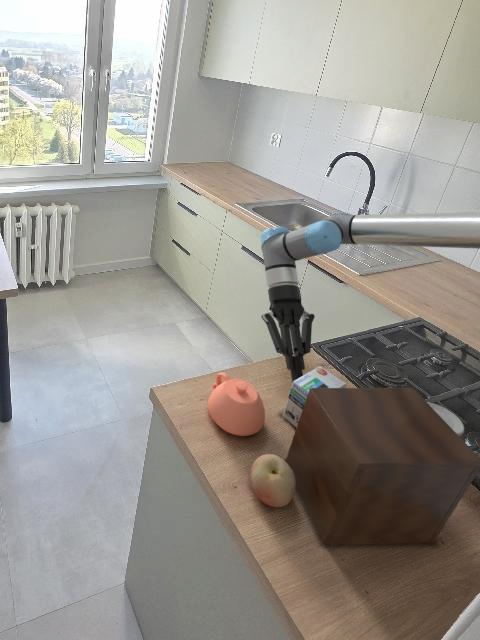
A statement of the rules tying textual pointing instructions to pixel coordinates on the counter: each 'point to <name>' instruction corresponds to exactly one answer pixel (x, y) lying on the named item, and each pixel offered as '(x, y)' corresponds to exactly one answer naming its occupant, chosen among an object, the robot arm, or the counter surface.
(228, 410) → the sugar bowl
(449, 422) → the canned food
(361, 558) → the counter surface
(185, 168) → the counter surface
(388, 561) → the counter surface
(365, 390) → the block
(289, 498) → the fruit
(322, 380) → the light bulb box
